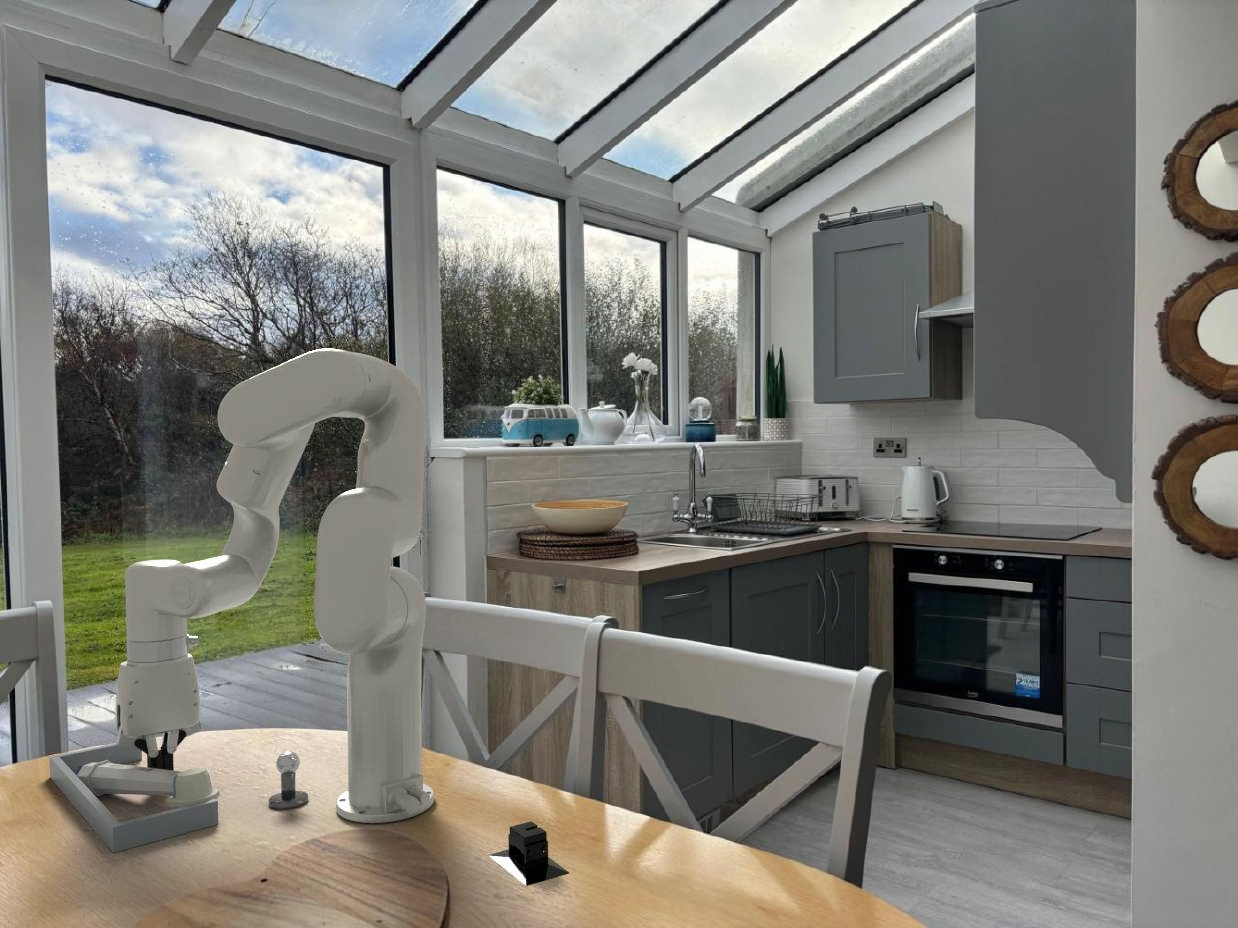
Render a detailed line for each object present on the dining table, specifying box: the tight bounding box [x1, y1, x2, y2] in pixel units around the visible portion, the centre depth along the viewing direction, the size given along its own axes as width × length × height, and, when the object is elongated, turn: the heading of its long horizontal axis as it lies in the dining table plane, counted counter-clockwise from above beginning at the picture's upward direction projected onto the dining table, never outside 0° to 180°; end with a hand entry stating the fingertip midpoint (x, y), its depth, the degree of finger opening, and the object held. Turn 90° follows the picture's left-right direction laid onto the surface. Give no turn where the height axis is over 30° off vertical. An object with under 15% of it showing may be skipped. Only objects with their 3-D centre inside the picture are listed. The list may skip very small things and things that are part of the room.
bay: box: [49, 742, 219, 854], centre depth 125 cm, size 34×12×3 cm, turn 42°
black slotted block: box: [488, 820, 570, 887], centre depth 105 cm, size 12×7×5 cm, turn 34°
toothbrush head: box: [75, 760, 221, 809], centre depth 123 cm, size 5×7×25 cm
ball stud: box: [268, 750, 309, 810], centre depth 124 cm, size 5×5×7 cm
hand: (160, 781), depth 128 cm, fingers closed
